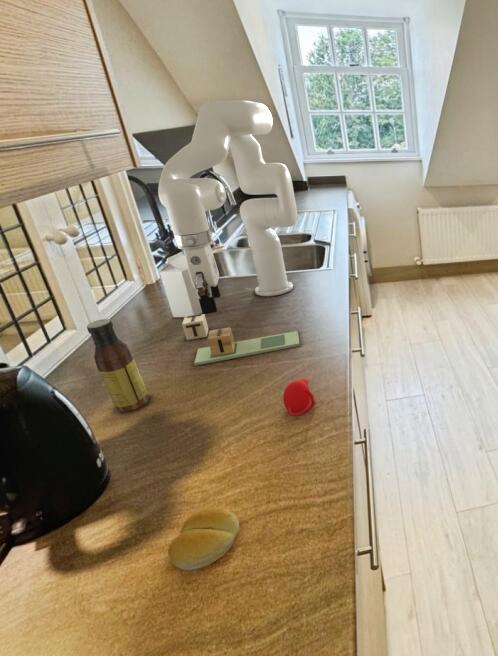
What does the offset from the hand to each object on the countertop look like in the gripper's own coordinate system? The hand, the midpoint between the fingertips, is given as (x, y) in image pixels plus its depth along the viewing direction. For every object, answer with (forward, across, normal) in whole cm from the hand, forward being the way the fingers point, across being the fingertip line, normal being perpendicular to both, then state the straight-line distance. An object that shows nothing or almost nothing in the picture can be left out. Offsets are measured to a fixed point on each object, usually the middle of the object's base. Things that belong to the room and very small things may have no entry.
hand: (212, 305), depth 113 cm
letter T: (+14, +14, +8) cm, 21 cm away
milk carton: (+14, +32, +12) cm, 37 cm away
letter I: (+12, -1, 0) cm, 12 cm away
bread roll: (+12, -62, -2) cm, 63 cm away
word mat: (+13, -1, -6) cm, 15 cm away
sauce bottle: (+13, -18, +17) cm, 28 cm away
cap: (+13, -34, -17) cm, 40 cm away
